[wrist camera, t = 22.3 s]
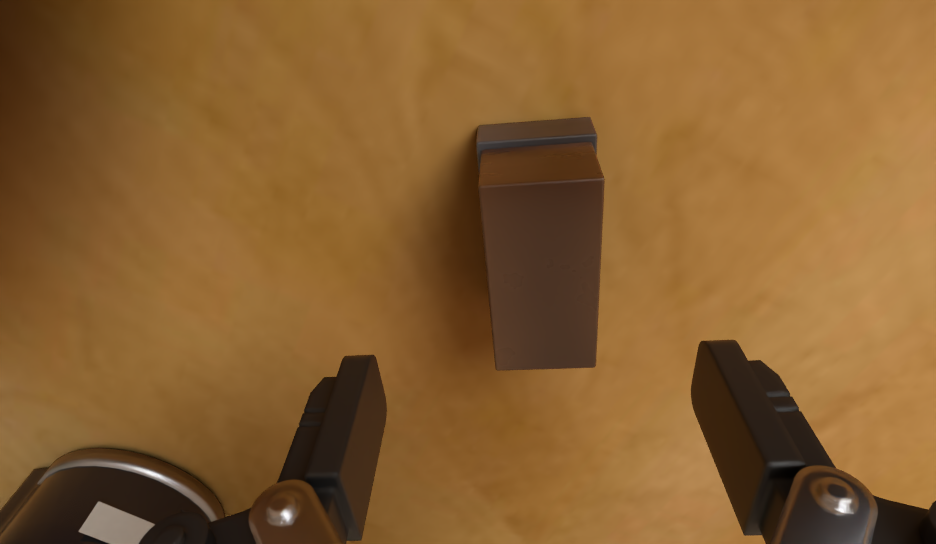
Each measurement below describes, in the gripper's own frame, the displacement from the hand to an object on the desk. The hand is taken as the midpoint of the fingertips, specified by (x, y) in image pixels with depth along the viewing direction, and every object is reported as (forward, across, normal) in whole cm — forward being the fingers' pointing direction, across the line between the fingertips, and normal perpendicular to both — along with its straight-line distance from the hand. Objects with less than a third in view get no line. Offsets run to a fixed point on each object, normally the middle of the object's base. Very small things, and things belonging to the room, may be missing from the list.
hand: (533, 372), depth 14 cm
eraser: (+7, -1, -1) cm, 7 cm away
